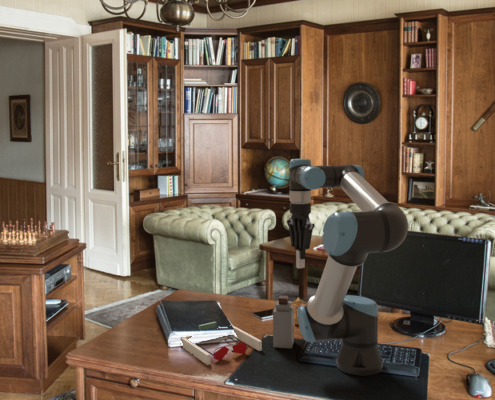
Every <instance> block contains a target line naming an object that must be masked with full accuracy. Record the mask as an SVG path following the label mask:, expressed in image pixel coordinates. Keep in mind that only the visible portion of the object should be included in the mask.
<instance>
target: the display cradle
mask: <svg viewBox="0 0 495 400" xmlns="http://www.w3.org/2000/svg"><path fill="white" fill-rule="evenodd" d="M217 324H218V323H217V321H211V322H207V323H202V324H198V330H199V329H200V330H201V329H208V328H214V327H218V326H217ZM231 325H232V326H233V328H234V332H235V333H236V335H237V337H238V339H237V340H239V341H240V342H245V344H246V345H247V346H250V347H251V348H253V349H255V350H257V351H258V352H261V351H263V347H262V346H263V344H262V343H263V342H262V341H263V340H260V339H259V338H257V337H255V336H253V335H251V334H250V333H247V332H246V331H244V330H243V329H240V328H239V327H236V326H234V324H231ZM185 336H186V337H183V336H180V337H179V339H180V340H181V341H182V343H183V347H184V348H185V349H186V350H187V351H186V350H185V349H184V348H183V349H184V350H185V351H186V352H188V351H189V352H190V353H189V352H188V353H189V354H191V355H192V354H193V355H192V356H194V357H195V358H196V359H197V360H199V361H201V362H202V363H204V364H205V365H206V366H209V365H211V354H210V353H208V352H207V351H205V350H204V349H202V348H201V347H199V346H197V345H198V344H194V343H192V342H191V341H189V340H188V339H189V338H191V337H192V336H188V335H185ZM180 340H179V341H180Z"/></svg>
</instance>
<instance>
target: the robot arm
mask: <svg viewBox="0 0 495 400" xmlns="http://www.w3.org/2000/svg"><path fill="white" fill-rule="evenodd" d="M288 170H289V201H290V203H289V214H291V217H290V218H291V219H287V220H286V223H287V226H288V232H289V238H290V245H291V247H293V248H294V250H295V260H296V261H295V262H296V263H295V268H297V269H304V268H305V267H306V263H305V260H306V250H309V249H310V248H311V243H312V242H311V241H312V236H313V230H314V228H315V223H311V221H310V214H311V213H312V203H311V201H312V193H311V192H312V190H319V189H333V188H339V189H341V190H342V191H343V192H344V193H345V194H346V196H348V197H349V198H350V199H351V200H352V202H353V203H354V204H355V205H356V206H357V208H358V209H359V210H358V211H357V210H354V211H349V210H343V211H340V212H339V211H336V212H333V213H331V214H330V215H329V216H328V217H327V218H326V220H325V221H324V224H323V228H322V233H323V234H322V235H321V236H322V237H321V238H322V244H323V245H322V246H323V248H324V250H325V252H326V253H327V255H328V257H327V259H326V263H325V266H324V269H323V271H322V274H321V277H320V281H319V284H318V286H317V290H316V292H315V294H314V295H312V296H311V297H310V298H309V300H308V301H307V305H306V304H302V305H300V306H299V308H298V309H297V315H298V323H299V325H298V328H299V332H300V334H301V337H302V339H303V340H304V341H305V342H307V343H311V342H313V343H317V342H325V341H326V342H327V341H333V340H341V344H340V347H339V351H338V354H337V356H336V364H337V365H336V368H337V369H338V370H340V371H341V372H343V373H345V374H349V375H353V376H358V377H359V376H364V377H365V376H366V377H367V376H374V375H377V374H380V373H381V372H382V371H383V369H382V368H384V361H383V358H382V356H381V355H382V354H381V351H380V348H379V345H378V344H379V342H378V341H379V340H378V339H379V317H380V316H379V306H378V304H377V302H376V301H374V300H373V299H372V298H371V299H370V298H368V297H365V296H359V295H349V294H348V295H347V293H348V290H349V288H350V285H351V283H352V281H353V278H354V275H355V273H356V271H357V268H358V267H359V266H362V265H363V264H364V263H365V262H366V260H367V257H368V255H369V254H373V253H375V254H377V253H386V252H390V251H393V250H395V249H397V248H398V247H400V245H402V244H403V242H404V241H405V239H406V238H407V236H408V231H409V221H408V218H407V215H406V213H405V212H404V211H403V210H402V208H401V207H399V206H398V205H397V204H396V203H394V202H391V201H388V199H386V198H385V197H384V196H383V195H381V193H379V191H377V190H376V188H374V186H372V185H371V184H370V183H369V182H368V181H367V180H366V179H365V172H364V170H363V167H362V166H361V165H359V164H352V163H351V164H340V165H339V164H335V165H312V161H311V159H310V158H292V159H290V161H289V168H288Z"/></svg>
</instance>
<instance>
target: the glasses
mask: <svg viewBox="0 0 495 400" xmlns="http://www.w3.org/2000/svg"><path fill="white" fill-rule="evenodd" d="M226 338H227V339H230V340H232V341H233V342H235V343H232V344H228V345H224V346H220V347H218V348H215V350H214V351H213V353H212V352H210V351H208V350H207V349H206V348H204V347H203V346H201V345H200V344H196V345H197V346H198V347H200V348H201V349H203V350H204V351H206V352H207V353H209V354H210V356H211V355H212V356H213V359H214V360H218V361H222V360H223V359H224V357H225V356H227V355H228V352H229V351H230V349H229V348H228V346H232V349H231V353H233V354H235V353H236V354H241V355H243V354H246V353H247V350H248V349H249V347H248V346H247V344H246V343H245V342H242V341H240V342H239V341H237V340H235V339H233V338H231V337H230V336H227V337H226ZM227 339H226V340H227ZM216 350H217V351H216Z"/></svg>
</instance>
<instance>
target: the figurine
mask: <svg viewBox="0 0 495 400" xmlns="http://www.w3.org/2000/svg"><path fill="white" fill-rule="evenodd" d="M293 304H296V305H295V306H294V325H297V326H299V323H298V308H299V306H302V305H301V304H304V305H307V304H308V302H305V301H303V300H301V298H300V297H299V296H298V297H297V298H296V300H294V301H292V302H291V305H293Z"/></svg>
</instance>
